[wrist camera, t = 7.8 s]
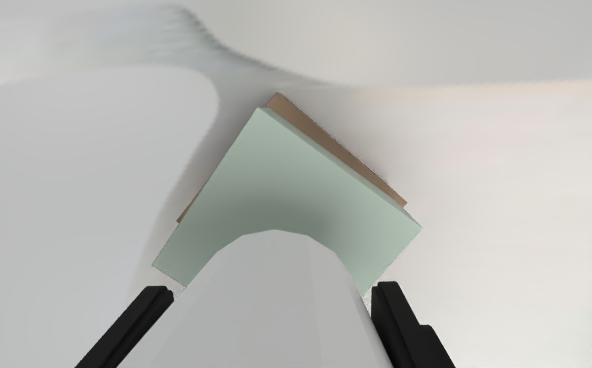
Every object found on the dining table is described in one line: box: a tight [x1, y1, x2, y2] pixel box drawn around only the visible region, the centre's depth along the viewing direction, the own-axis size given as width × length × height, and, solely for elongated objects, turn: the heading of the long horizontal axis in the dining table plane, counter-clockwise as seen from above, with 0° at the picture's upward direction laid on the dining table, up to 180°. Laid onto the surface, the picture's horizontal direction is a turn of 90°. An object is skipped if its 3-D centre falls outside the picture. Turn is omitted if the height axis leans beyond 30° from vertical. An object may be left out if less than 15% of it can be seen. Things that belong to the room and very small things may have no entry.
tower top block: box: [152, 107, 422, 297], centre depth 18 cm, size 10×10×5 cm
